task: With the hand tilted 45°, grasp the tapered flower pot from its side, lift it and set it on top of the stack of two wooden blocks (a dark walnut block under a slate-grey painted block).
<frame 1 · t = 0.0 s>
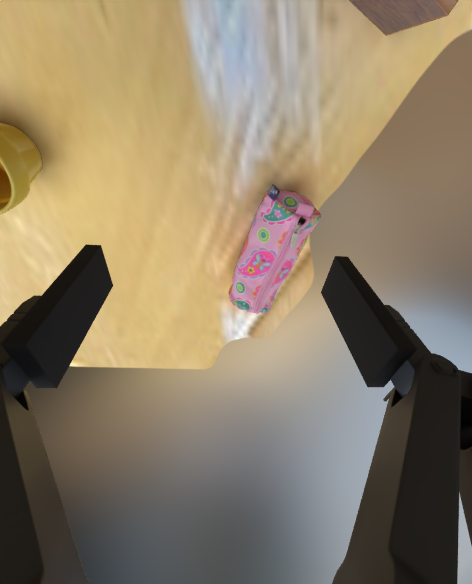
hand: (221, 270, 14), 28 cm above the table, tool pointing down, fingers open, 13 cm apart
flower pot: (17, 151, 34), on the table
pencil case: (265, 242, 45), on the table
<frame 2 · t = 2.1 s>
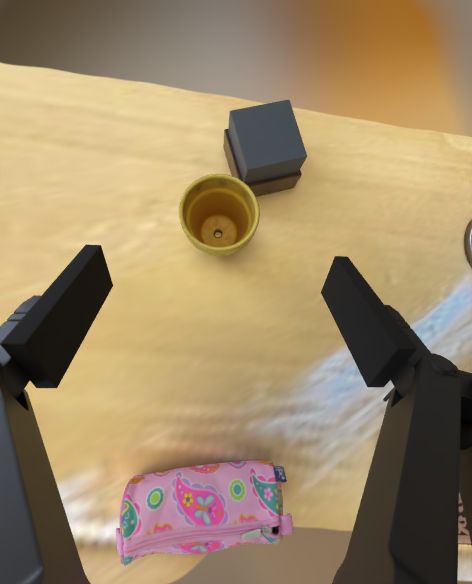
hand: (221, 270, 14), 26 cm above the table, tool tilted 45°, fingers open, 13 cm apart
tissue box cover: (461, 444, 41), on the table
base block: (258, 167, 43), on the table, touching top block
flower pot: (218, 235, 41), on the table
top block: (263, 152, 39), point 4 cm above the table, touching base block
pencil case: (207, 483, 37), on the table
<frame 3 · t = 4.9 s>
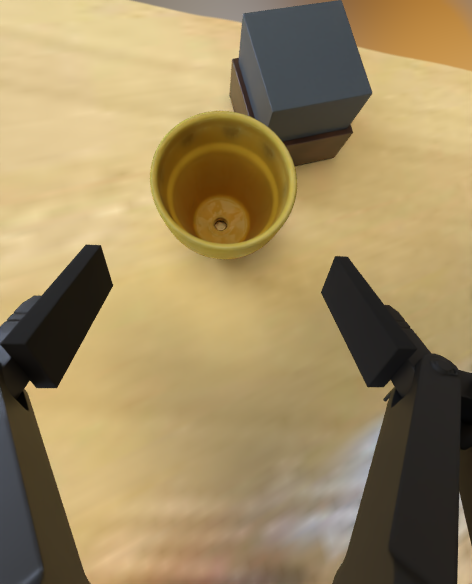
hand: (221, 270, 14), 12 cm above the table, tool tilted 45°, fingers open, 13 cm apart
base block: (282, 126, 28), on the table, touching top block
flower pot: (221, 227, 27), on the table
top block: (293, 95, 24), point 4 cm above the table, touching base block
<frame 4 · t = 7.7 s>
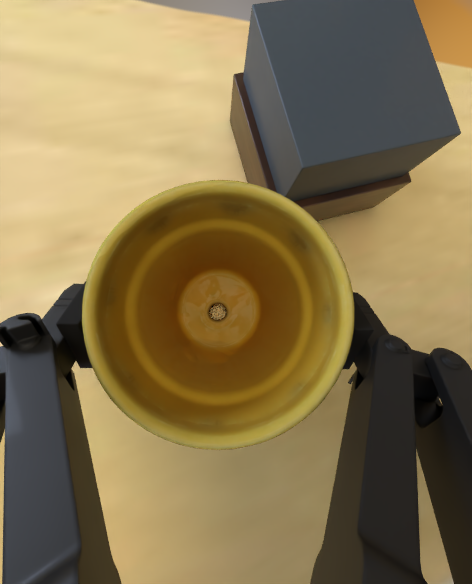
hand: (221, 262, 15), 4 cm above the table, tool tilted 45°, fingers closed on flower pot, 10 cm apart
base block: (302, 164, 21), on the table, touching top block
flower pot: (218, 311, 19), on the table, touching gripper
top block: (324, 128, 17), point 4 cm above the table, touching base block
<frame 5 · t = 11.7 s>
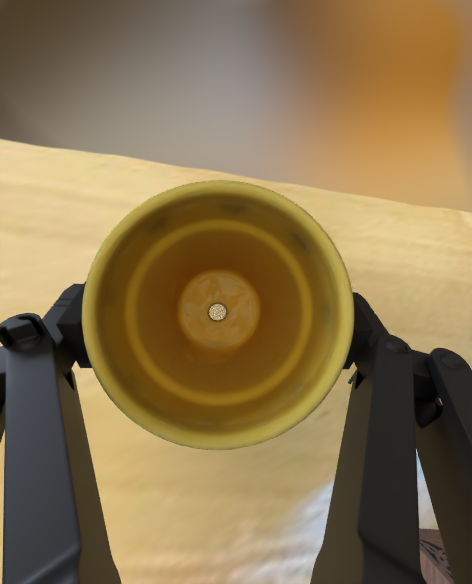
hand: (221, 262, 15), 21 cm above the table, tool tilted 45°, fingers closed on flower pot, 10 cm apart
flower pot: (218, 311, 19), point 16 cm above the table, touching gripper
when the fingers open (12 cm above the table, at t = 16.0 s): flower pot stays where it is, resting on top block.
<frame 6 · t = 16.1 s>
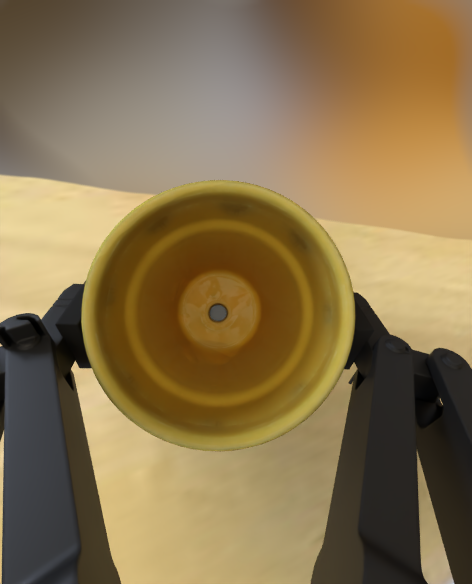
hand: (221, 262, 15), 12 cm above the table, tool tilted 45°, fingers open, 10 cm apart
flower pot: (219, 312, 19), point 8 cm above the table, touching top block
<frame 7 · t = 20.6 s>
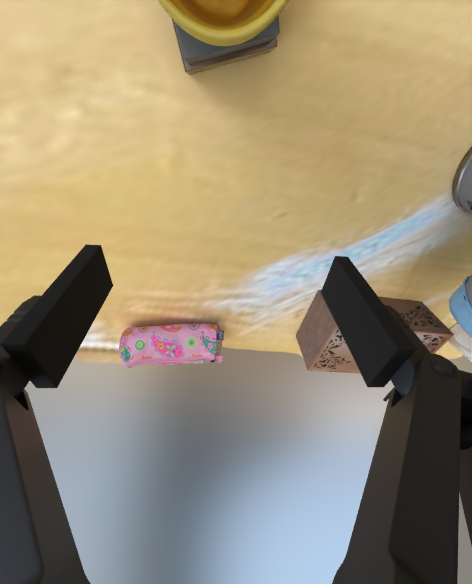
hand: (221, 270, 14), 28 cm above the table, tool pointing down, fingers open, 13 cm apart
mug: (456, 327, 64), on the table
tissue box cover: (355, 318, 59), on the table
base block: (218, 0, 26), on the table, touching top block
pencil case: (177, 329, 57), on the table
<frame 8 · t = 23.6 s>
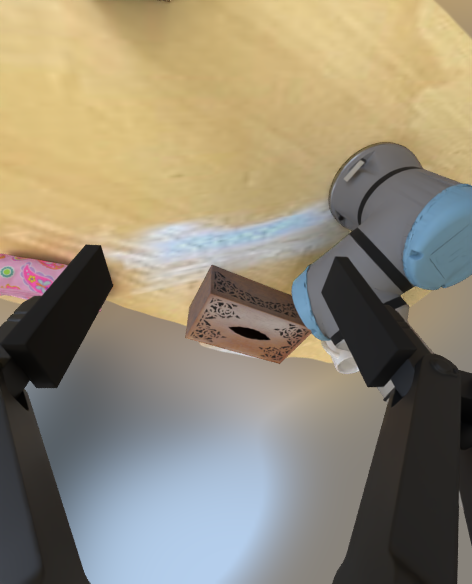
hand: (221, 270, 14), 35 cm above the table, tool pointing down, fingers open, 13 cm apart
mug: (332, 333, 73), on the table
tissue box cover: (246, 303, 63), on the table
pencil case: (63, 272, 55), on the table
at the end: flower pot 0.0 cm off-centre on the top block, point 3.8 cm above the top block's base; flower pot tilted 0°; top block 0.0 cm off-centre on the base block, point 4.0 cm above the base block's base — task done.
